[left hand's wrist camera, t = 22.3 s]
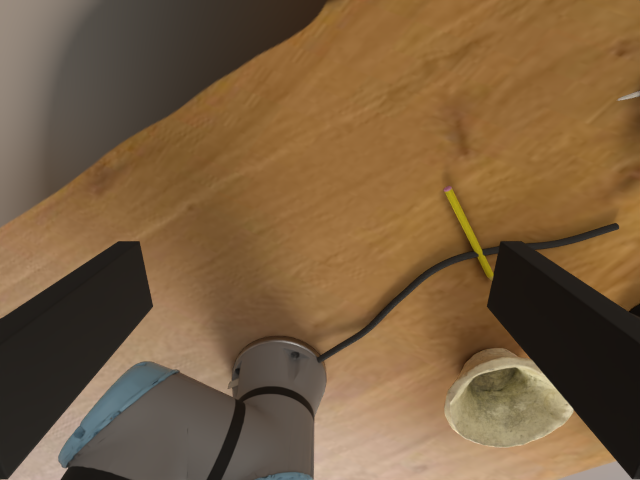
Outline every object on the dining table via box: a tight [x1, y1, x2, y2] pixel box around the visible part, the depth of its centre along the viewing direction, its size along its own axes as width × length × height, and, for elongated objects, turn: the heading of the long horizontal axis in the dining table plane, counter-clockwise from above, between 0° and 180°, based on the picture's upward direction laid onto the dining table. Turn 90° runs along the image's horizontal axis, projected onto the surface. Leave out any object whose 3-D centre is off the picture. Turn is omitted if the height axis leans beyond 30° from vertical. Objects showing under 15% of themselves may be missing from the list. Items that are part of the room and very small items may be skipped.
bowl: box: [444, 348, 574, 447], centre depth 50 cm, size 14×18×15 cm
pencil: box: [444, 186, 494, 281], centre depth 47 cm, size 16×1×1 cm, turn 32°
